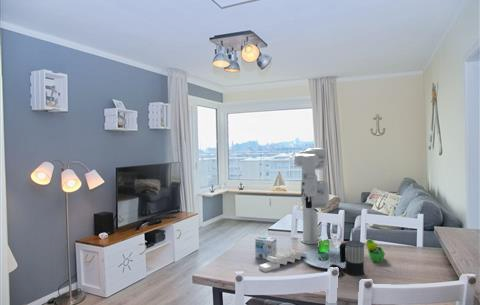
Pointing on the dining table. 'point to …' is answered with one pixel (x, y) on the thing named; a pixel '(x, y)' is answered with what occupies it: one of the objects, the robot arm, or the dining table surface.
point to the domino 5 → (297, 253)
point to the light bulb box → (265, 247)
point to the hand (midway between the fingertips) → (308, 207)
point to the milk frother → (352, 258)
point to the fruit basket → (375, 251)
